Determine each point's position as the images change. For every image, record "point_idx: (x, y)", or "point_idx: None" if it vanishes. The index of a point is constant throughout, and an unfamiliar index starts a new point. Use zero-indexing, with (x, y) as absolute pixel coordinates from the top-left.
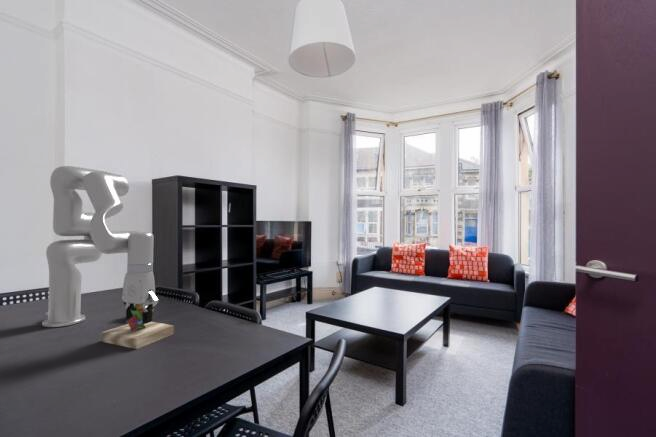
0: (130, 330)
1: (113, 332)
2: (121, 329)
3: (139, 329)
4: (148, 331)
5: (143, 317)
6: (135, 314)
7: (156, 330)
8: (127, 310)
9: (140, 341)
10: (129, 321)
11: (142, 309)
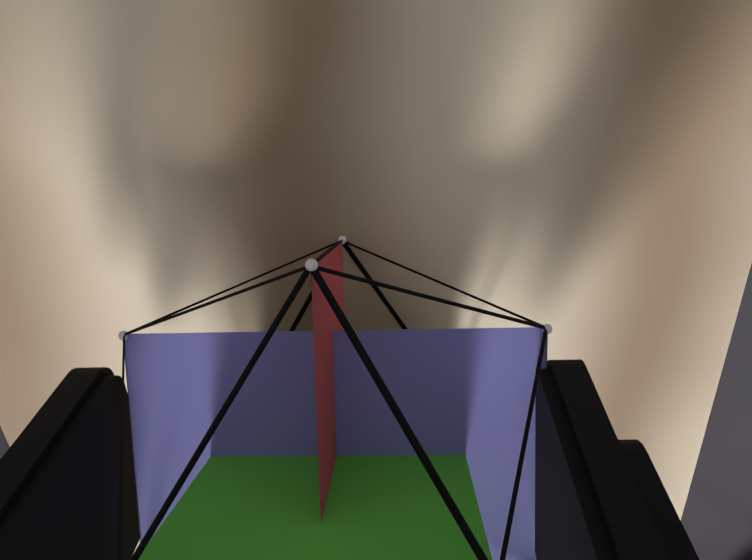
0: (380, 248)
1: (576, 54)
2: (574, 219)
3: (297, 330)
4: (89, 326)
5: (2, 459)
6: (185, 468)
7: (38, 391)
8: (614, 556)
9: None
10: (319, 292)
11: None
